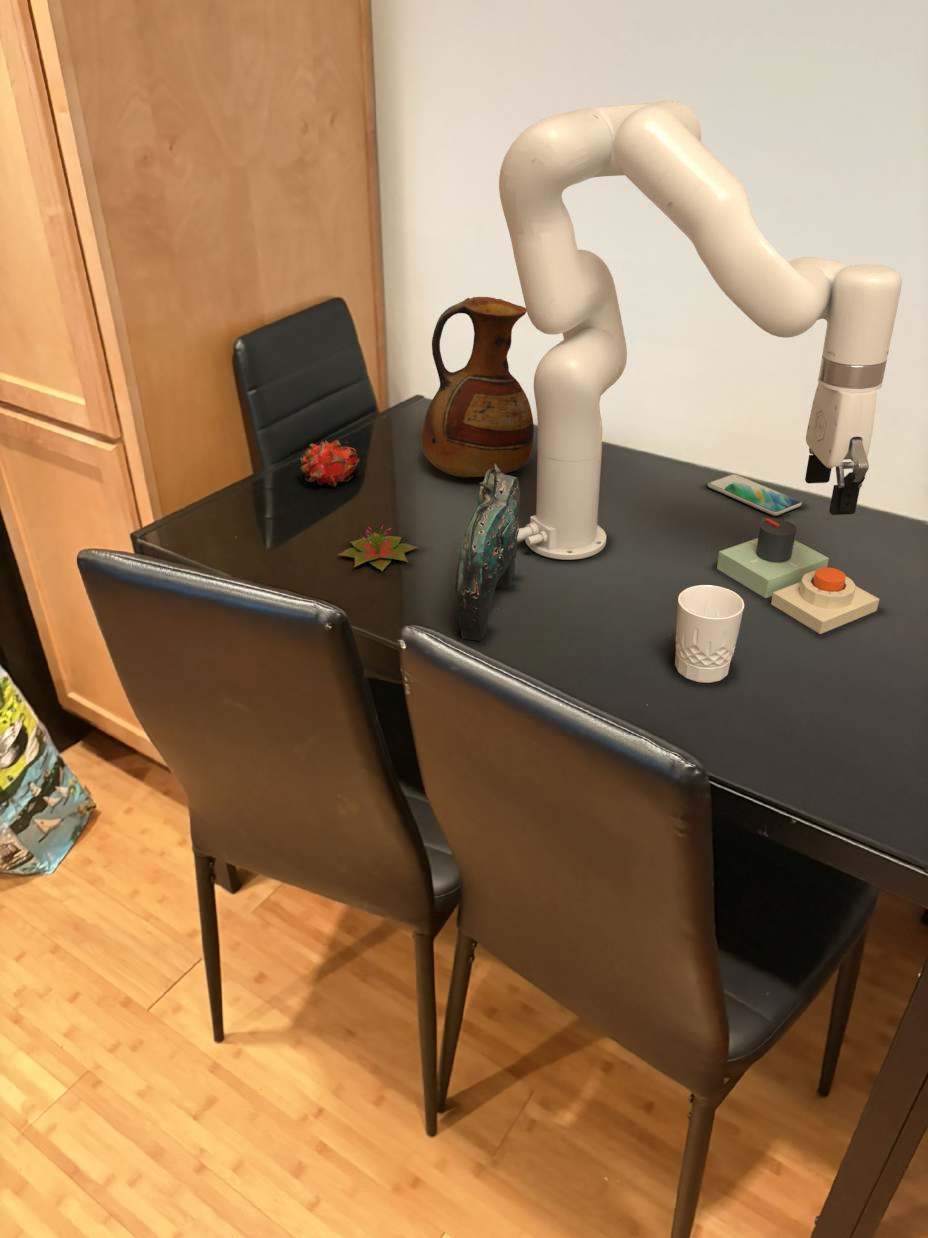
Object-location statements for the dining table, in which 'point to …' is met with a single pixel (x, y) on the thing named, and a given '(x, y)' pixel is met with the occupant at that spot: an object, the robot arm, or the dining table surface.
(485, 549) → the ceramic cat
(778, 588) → the panel
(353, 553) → the lily flower
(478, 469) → the ceramic pitcher
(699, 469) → the dining table surface
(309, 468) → the dragon fruit
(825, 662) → the dining table surface
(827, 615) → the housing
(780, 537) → the program dial
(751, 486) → the smartphone
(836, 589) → the button
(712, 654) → the white cup
